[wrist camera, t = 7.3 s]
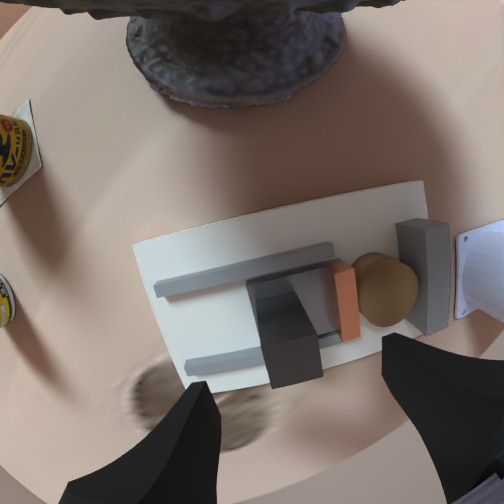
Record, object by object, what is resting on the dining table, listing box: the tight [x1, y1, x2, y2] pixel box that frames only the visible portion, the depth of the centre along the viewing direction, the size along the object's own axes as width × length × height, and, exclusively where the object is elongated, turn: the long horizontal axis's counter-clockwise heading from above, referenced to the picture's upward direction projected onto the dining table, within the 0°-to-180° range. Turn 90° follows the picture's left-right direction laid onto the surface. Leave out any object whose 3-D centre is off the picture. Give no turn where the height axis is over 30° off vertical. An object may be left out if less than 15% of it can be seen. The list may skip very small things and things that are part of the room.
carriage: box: [246, 258, 361, 389], centre depth 14 cm, size 6×4×6 cm
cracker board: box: [132, 180, 451, 393], centre depth 17 cm, size 20×12×5 cm, turn 103°
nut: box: [351, 252, 418, 327], centre depth 16 cm, size 4×4×3 cm
